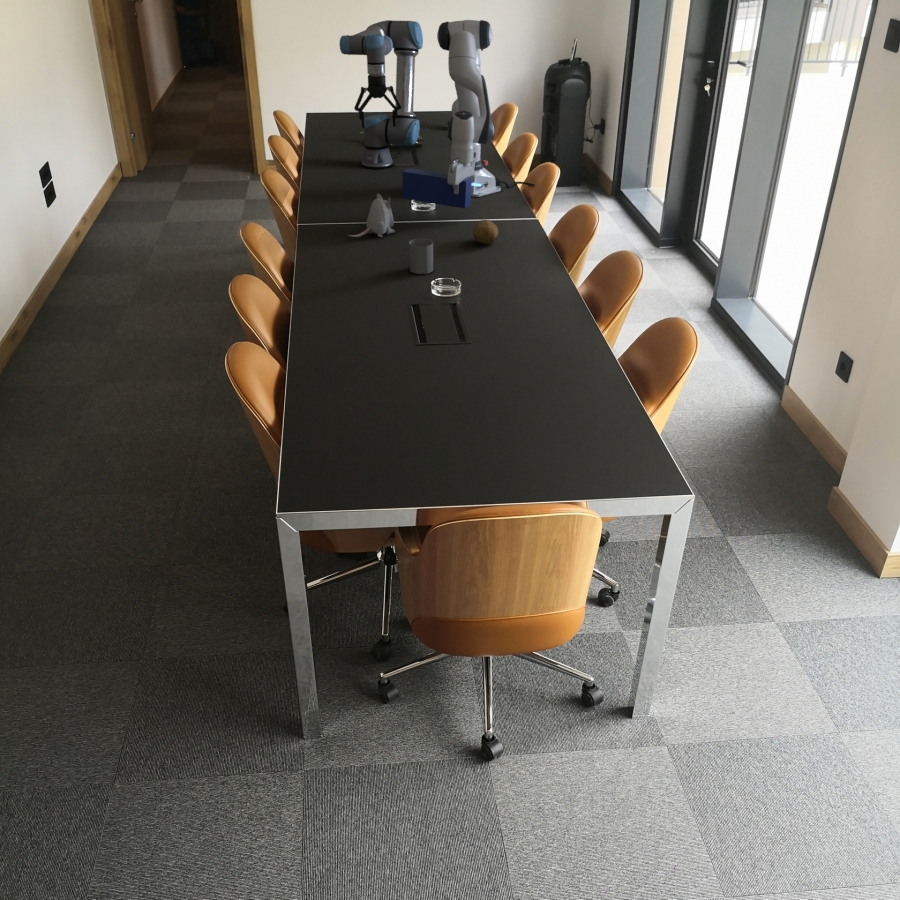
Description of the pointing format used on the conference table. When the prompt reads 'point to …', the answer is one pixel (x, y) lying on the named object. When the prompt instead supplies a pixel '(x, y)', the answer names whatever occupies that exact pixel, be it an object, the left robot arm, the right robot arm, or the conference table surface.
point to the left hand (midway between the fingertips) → (378, 126)
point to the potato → (485, 232)
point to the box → (434, 188)
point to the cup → (421, 256)
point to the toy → (379, 218)
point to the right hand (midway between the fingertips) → (460, 191)
